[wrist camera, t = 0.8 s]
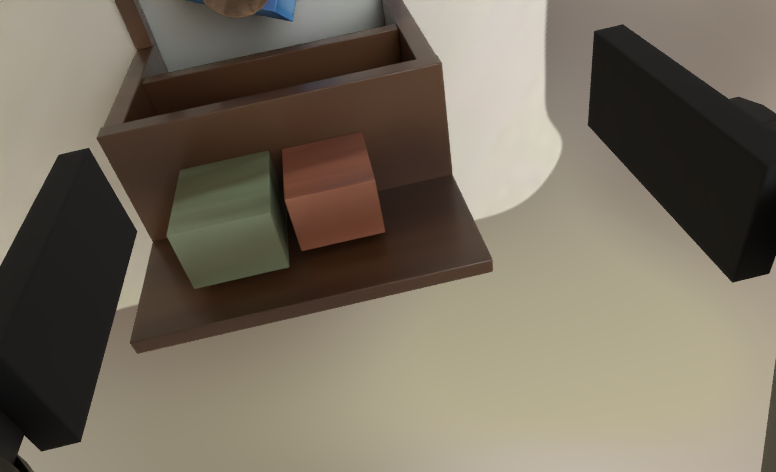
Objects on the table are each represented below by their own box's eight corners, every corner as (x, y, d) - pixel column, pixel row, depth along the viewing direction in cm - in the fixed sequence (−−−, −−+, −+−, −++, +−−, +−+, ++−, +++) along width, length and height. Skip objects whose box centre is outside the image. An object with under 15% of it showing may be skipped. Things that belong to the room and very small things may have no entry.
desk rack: (34, -196, 28) (-214, -160, 13) (361, -261, 29) (467, -294, 14) (182, 143, 40) (137, 356, 26) (410, 93, 41) (493, 273, 26)
